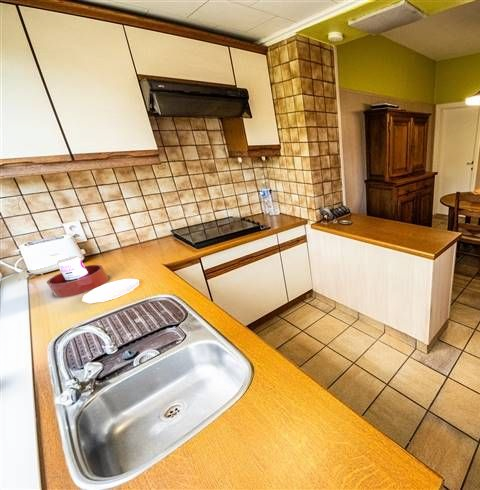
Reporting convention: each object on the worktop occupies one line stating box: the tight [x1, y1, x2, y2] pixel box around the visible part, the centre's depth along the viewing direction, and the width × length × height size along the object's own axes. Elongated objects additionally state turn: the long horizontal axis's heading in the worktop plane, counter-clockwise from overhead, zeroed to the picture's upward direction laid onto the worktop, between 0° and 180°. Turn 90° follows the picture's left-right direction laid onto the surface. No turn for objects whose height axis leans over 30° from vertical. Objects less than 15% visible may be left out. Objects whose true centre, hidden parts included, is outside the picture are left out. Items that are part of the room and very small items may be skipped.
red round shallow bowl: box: [46, 264, 109, 298], centre depth 135 cm, size 20×20×7 cm
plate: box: [81, 278, 140, 304], centre depth 128 cm, size 21×21×2 cm
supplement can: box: [56, 255, 89, 282], centre depth 133 cm, size 8×8×15 cm
